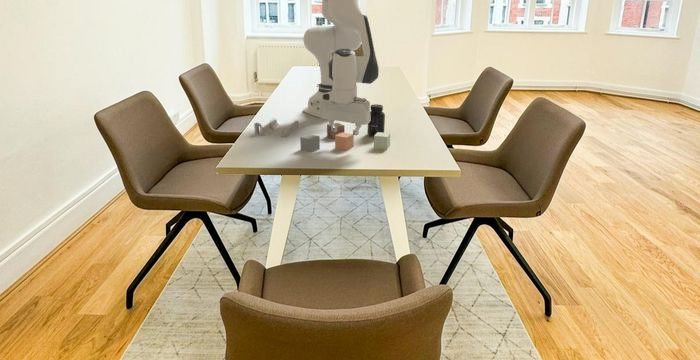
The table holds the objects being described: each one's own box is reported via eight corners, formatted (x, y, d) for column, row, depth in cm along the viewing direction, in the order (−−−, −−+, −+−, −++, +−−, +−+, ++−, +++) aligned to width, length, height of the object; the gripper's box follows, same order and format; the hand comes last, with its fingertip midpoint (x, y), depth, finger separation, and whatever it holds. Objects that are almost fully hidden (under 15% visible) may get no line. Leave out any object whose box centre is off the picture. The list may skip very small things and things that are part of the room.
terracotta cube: (335, 148, 198) (335, 135, 196) (342, 145, 202) (342, 132, 200) (346, 150, 195) (346, 137, 193) (353, 147, 199) (353, 134, 197)
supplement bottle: (370, 137, 210) (370, 108, 206) (365, 133, 216) (365, 104, 212) (386, 136, 212) (387, 107, 208) (381, 131, 218) (381, 103, 214)
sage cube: (373, 148, 198) (374, 135, 196) (377, 144, 202) (377, 132, 200) (387, 149, 196) (387, 136, 194) (390, 145, 201) (390, 133, 199)
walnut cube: (327, 136, 212) (326, 124, 210) (337, 134, 215) (337, 122, 213) (333, 139, 208) (333, 127, 206) (344, 137, 211) (344, 125, 209)
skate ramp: (286, 138, 211) (285, 125, 209) (255, 136, 214) (254, 123, 212) (298, 128, 225) (297, 116, 223) (268, 126, 228) (268, 114, 226)
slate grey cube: (300, 149, 196) (300, 136, 194) (309, 146, 200) (309, 133, 198) (310, 152, 193) (310, 139, 191) (319, 149, 197) (319, 136, 195)
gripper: (374, 97, 188) (373, 135, 193) (326, 91, 198) (327, 127, 203) (365, 100, 183) (364, 139, 188) (316, 94, 193) (317, 131, 198)
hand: (344, 133), depth 196 cm, fingers open, 8 cm apart
